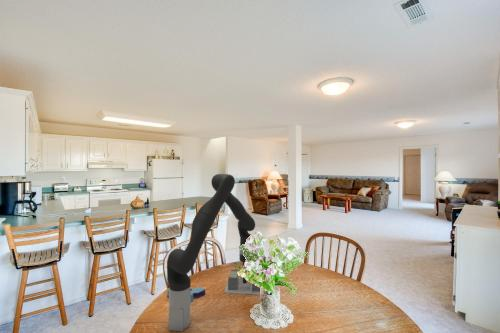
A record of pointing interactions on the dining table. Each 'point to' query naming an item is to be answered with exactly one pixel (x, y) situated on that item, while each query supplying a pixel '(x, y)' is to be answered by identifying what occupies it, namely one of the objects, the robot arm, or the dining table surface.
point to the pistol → (194, 293)
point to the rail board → (235, 287)
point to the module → (244, 283)
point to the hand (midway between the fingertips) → (245, 279)
